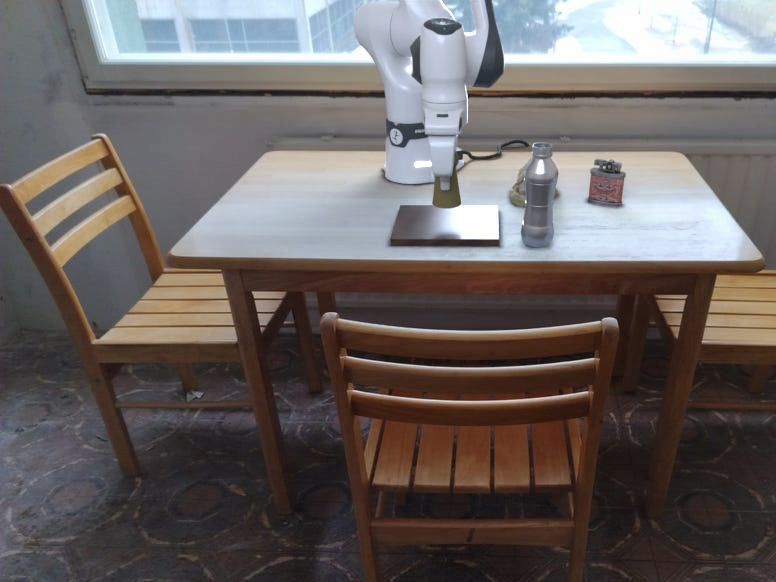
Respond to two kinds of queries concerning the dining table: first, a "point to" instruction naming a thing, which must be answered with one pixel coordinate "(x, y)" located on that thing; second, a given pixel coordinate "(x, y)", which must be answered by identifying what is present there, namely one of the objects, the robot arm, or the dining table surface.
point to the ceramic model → (521, 188)
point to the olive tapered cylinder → (450, 196)
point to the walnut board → (446, 226)
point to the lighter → (606, 183)
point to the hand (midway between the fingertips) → (446, 184)
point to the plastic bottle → (539, 196)
